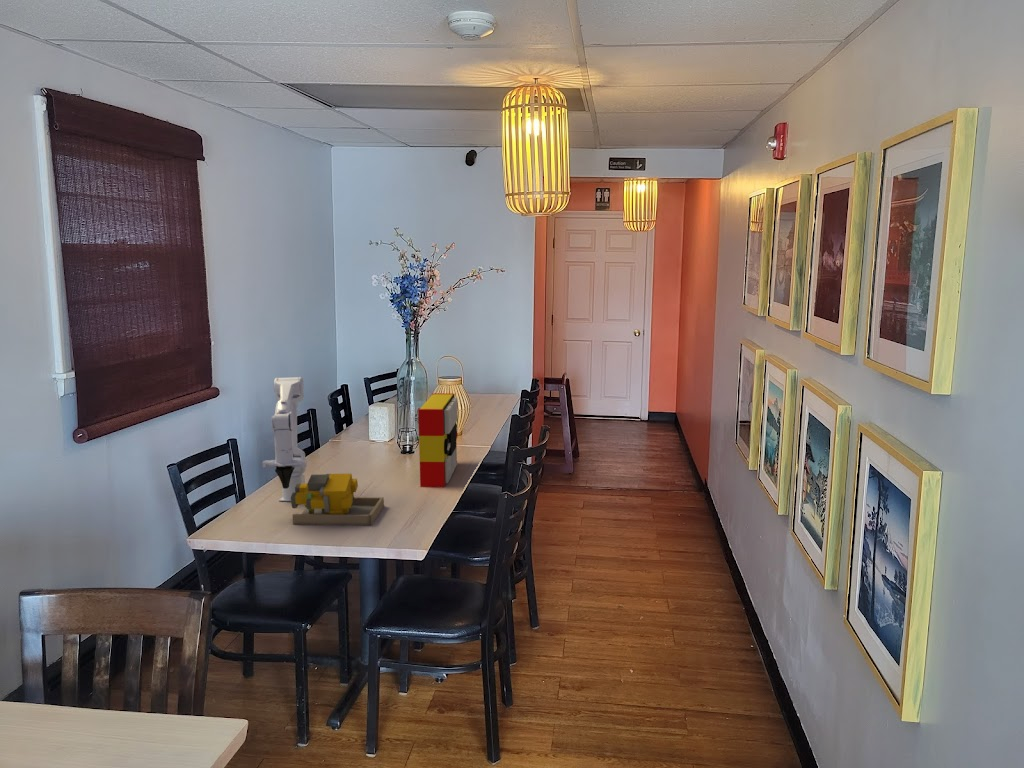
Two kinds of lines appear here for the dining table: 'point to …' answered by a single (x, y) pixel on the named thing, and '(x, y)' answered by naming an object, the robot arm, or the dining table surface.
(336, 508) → the toy
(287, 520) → the dining table surface
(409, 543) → the dining table surface
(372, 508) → the tray
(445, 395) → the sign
